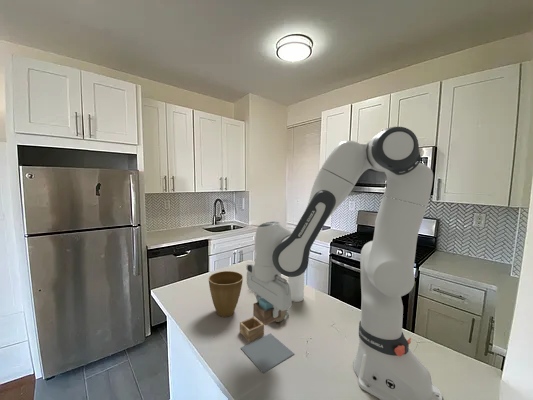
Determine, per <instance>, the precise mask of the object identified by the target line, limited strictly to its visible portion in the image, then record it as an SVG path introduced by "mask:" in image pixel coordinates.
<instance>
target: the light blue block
mask: <svg viewBox="0 0 533 400" xmlns="http://www.w3.org/2000/svg"><path fill="white" fill-rule="evenodd" d="M259 306H260V307H261V308H262V309H264V310H265V311H267V310H269V309H272V308H273V305H272V304H271V303H269V302H268V301H266V300H265V299H264V298H260V299H259Z"/></svg>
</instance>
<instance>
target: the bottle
mask: <svg viewBox="0 0 533 400" xmlns="http://www.w3.org/2000/svg"><path fill="white" fill-rule="evenodd" d="M287 278H288V279H287V282H288V284H289V286H290V290H291V302H302V301H303V300H304V298H305V272H304V273H303V274H301V275H299V276H296V277H288V276H287Z"/></svg>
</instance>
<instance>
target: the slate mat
mask: <svg viewBox="0 0 533 400" xmlns="http://www.w3.org/2000/svg"><path fill="white" fill-rule="evenodd" d="M277 338H278V337H275V336H274V335H273V334H272V333H268V334H266V335H265V336H264V335H263V336H261V337H259V338H257V339H255V340H254V341H251V342H249V343H248V344H245V345H244V346H241V347H240V350H242V352H243V353H244V354H245V355H246V356H247V358H248V359H249V360H250V361H251V362H252V363H253V365H255V366H256V368H257V369H258V370H259V371H260V372H261V373H262V374H265V373H267V372H268V371H270V370H271V369H273V368H274V367H276V366H278V365H280V364H281V363H283V362H285V361H286V360H288V359H289V358H291V357H293V356H294V355H295V353H294V352H293V351H292V350H291V349H290V348H289V347H288V346H286V345H285V343H283V342H281V341H280V340H279V339H277Z"/></svg>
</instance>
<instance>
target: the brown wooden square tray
mask: <svg viewBox="0 0 533 400" xmlns="http://www.w3.org/2000/svg"><path fill="white" fill-rule="evenodd" d="M252 305H253V314H252V315H253V316H252V317H255V318H256V319H257V320H259V321H260V322H261V323H262V324H264V326H266V325H269V324H271V323H273V322H276V320H278V319H280V318H281V310H279V311H278V317H276V318H274V317H273V316H271V311H272V310H274V308H272V309H269V310H267V311H265V310H264V309H262V308H261V307H260V306H259V302H257V301H256V302H254V303H253V304H252Z"/></svg>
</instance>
